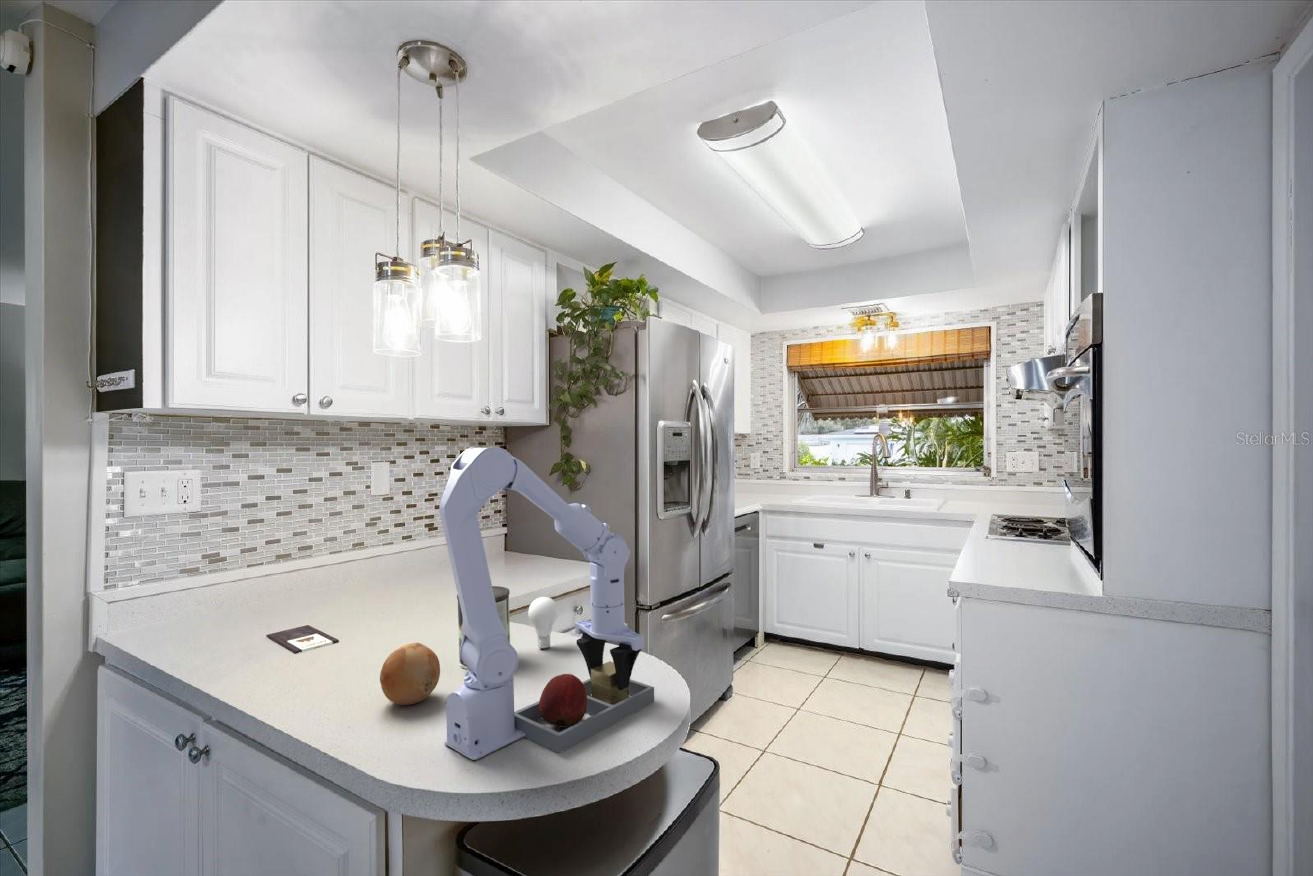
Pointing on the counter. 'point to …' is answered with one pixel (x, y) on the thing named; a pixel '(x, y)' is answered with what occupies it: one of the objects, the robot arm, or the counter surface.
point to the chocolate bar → (302, 639)
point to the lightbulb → (543, 618)
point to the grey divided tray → (600, 720)
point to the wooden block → (606, 684)
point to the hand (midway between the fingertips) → (609, 683)
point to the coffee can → (502, 609)
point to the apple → (563, 701)
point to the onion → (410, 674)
